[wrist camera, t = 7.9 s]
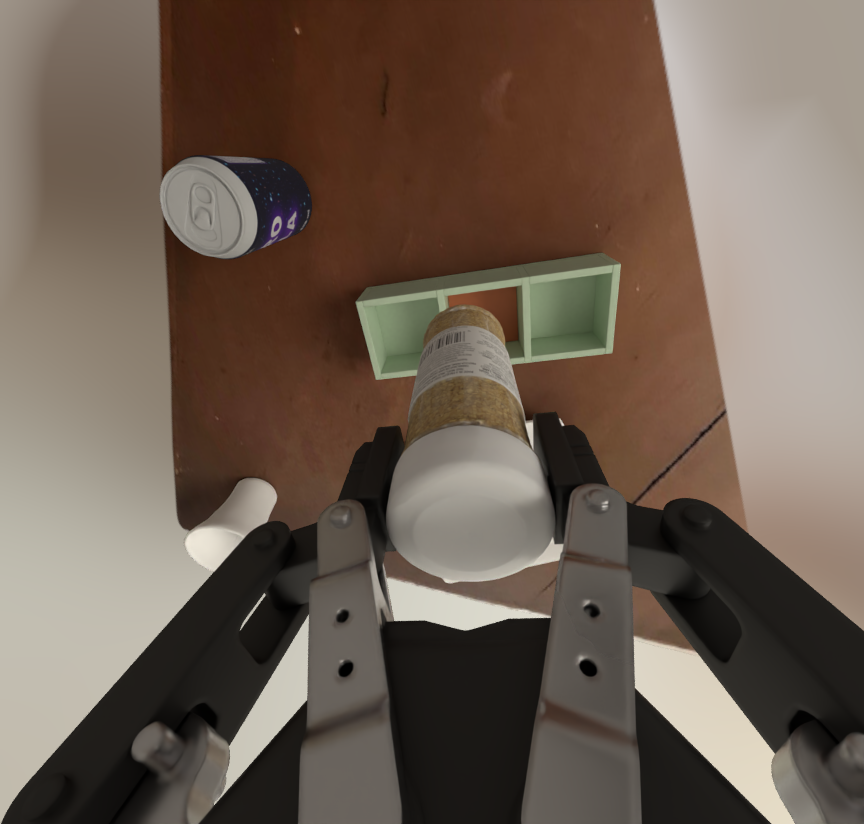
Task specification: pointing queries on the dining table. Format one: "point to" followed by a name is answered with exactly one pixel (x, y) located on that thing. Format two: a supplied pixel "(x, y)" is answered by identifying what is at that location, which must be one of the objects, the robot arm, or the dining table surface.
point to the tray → (499, 311)
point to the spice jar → (468, 459)
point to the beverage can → (234, 203)
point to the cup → (231, 523)
